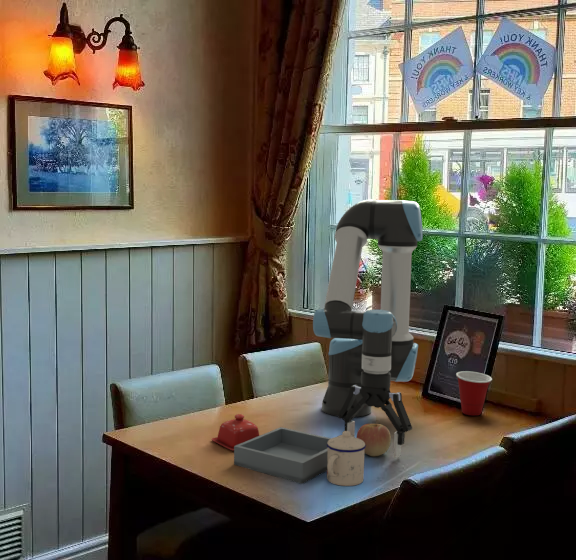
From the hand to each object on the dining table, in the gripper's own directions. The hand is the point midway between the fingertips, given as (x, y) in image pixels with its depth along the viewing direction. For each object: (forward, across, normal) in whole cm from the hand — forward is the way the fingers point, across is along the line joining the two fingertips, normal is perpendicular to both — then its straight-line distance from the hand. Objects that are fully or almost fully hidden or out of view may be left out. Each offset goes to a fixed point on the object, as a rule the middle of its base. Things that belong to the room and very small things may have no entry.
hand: (373, 451), depth 211 cm
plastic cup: (+1, +6, +53) cm, 53 cm away
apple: (+1, 0, 0) cm, 1 cm away
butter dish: (+1, -32, -15) cm, 36 cm away
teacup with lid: (+1, +4, -22) cm, 22 cm away
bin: (+1, -13, -19) cm, 23 cm away
